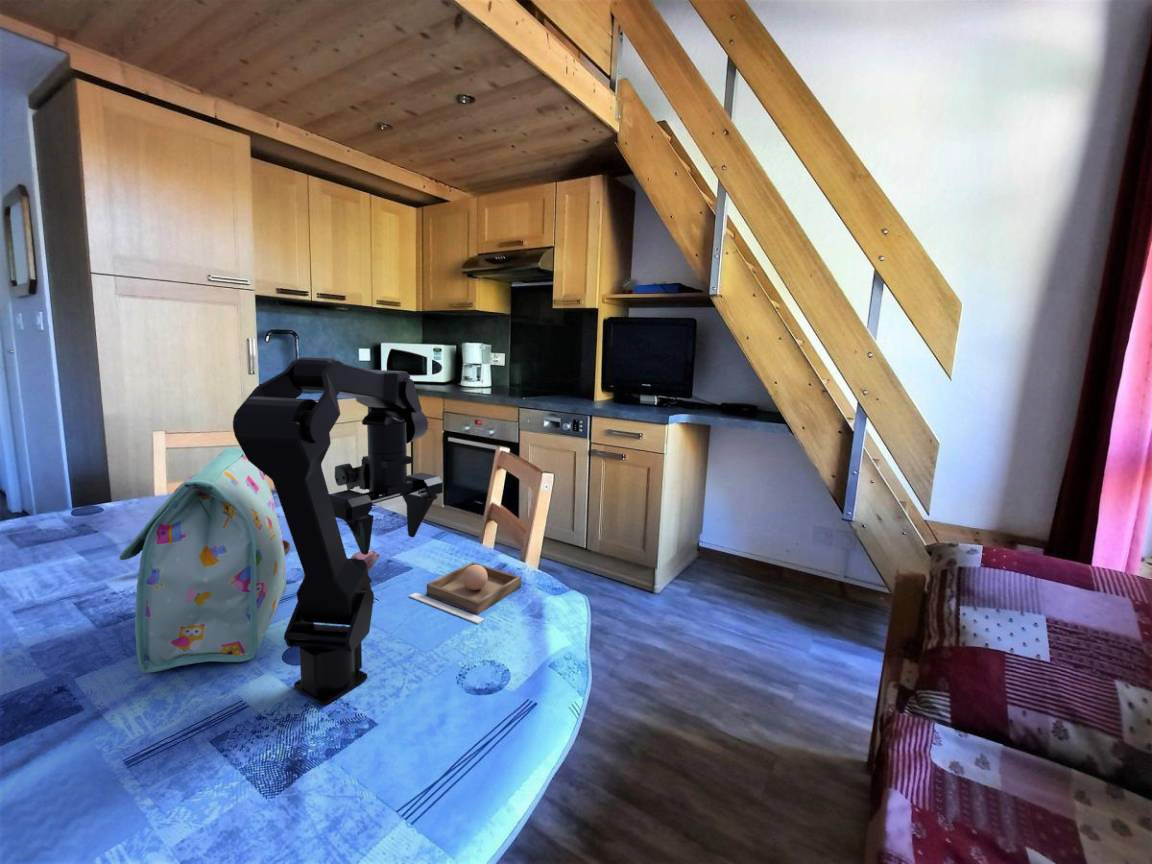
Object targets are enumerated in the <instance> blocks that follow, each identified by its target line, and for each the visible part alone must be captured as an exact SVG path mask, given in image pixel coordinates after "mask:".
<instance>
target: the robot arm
mask: <svg viewBox="0 0 1152 864" xmlns="http://www.w3.org/2000/svg"><path fill="white" fill-rule="evenodd" d="M304 392H314V393H316V392H317V393H318V392H319V393H320V392H321V393H322V394H321V396H320V397H319V399H318V400H317V401H316V400H314V399H313V398H298V397H300V396H301V395H302V394H303V393H304ZM339 395H342V396H346V397H354V398H355V402H357V403H358V404H361V405H363V406H365V407H367V408H368V409H369V411H368V413H367V414H366V415H365V416H364V417H363V418H362V420H361V424H362V426H367V427H366V428H367V429H366V430H367V432H366V433H367V455H365V456H362V458H361V466H360V465H359V466H356V467H353V466H352V464H351V463H344V464H340V465H336V466H334V481H335V483H336V485H337V486H339V487H341V486H344V485H345V486H346V490H342V491H338V492H334V493H330V492H329V489H328V485H327V481H326V479H325V474H324V472H323V467H322V463H323V461H324V459H325V457H326V454H327V453H328V451H329V448H330V446H331V431H332V429H333V427H334V426H335V424H336V423H337V421H338V420H339V418H340V417H341V410H340V405H339V400H338V396H339ZM428 429H429V421H428V419H427V417H426V414H425V413H424V412H423V411H422V405H421V402H420V399H419V394H418V393H417V389H416V385H415V383H414V381H413V378H411V376H410V374H409V373H408V372H407V371H404V370H385V369H382V370H381V369H380V370H379V369H366V368H361V367H360V366H359V367H358V366H354V365H351V364H348V363H344V362H341V360H336V358H333V357H313V356H312V357H309V356H301V357H299V358H295V359H294V360H292V361H291V363H289V365H288V366H287V367H286V368H285V370H284V371H282V372H280V373H279V374H277V375H274V376H273V377H271V378H270V379H268V380H266V381H264V382H263V383H261V384H258V385H257V386H256V387H255V388H254V389H253V390H252V392H251V393H250V394H249V395H248V396H247V398H246V399H245V400H244V401H243V402H242V404H241V405H240V406H239V407H238V409H237V410H236V411H235V413H234V415H233V420H232V430H233V434H234V437H235V439H236V441H237V444H238V445H239V447H240V449H241V450H243V452H244V454H245V456H246V457H247V459H248V461H249V462H251V463H252V464H253V465H254V466H256V467H257V468H258V469H259V470H260V471H261V472H262V474H263V475H264V476H266V477H268V478H269V479H271V481H272V482H273V486H274V489H275V491H276V492H275V493H276V494H277V497H278V500H279V503H280V506H281V510H282V513H283V515H284V519H285V520H286V523H287V527H288V529H289V532H290V533H289V534H290V535H291V538H292V542H293V545H294V548H295V549H296V553H297V556H298V558H299V559H298V560H299V562H300V566H301V568H302V570H303V574H304V576H303V579H302V581H301V582H300V584H299V587H298V589H297V592H296V599H297V602H296V605H295V607H294V609H293V612H292V615H291V616H290V620H289V622H288V624H287V626H286V629H285V631H284V633H283V638H284V642H285V644H286V646H287V648H293V647H295V648H299V650H298V651H299V662H300V663H299V666H300V679H299V680H297V681H295V682H294V683H293V688H294V689H295V690H297V691H299V692H300V693H302V694H303V695H305V696H306V697H308V698H309V699H312V700H313V701H314V702H316V703H317V704H319V705H320V706H326V705H327V704H330V703H331V702H334V700H336V699H338V698H339V697H341V696H342V695H344V694H346V693H348V692H349V691H350V690H353V689H354V688H356V686H358V685H360V684H362V683H363V682H365V681H366V680H367V679H368V673H366V672H364V671H362V670H361V669H362V668H363V660H362V658H363V654H362V653H363V652H362V651H363V650H362V642H363V641H364V639H365V638H366V637H367V636H368V635H369V634H370V631H371V630H370V629H371V623H372V615H373V607H374V599H375V598H374V597H375V595H374V590H372V586H371V584H372V579H371V577H370V575H369V571H368V569H367V564H366V563H365V561H364V560H363V559H350V558H348V556H347V554H346V549H345V546H344V543H343V539H342V536H341V532H340V528H339V524H338V521H337V519H340V520H343V521H344V522H345V523H346V525H347V526H348V528H349V529H350V531H351V533H352V535H353V537H354V538H353V539H355V542H356V544H357V546H358V549H359V550H360V551H361V553H362V554H364V555H367V554H368V552H369V550H370V548H371V541H372V539H371V538H372V532H373V531H372V530H373V524H374V515H373V514H370V513H371V511H372V509H373V505H374V504H377V503H381V502H384V501H388V500H392V499H395V498H399V497H402V498H403V500H404V502H405V505H406V523H407V524H406V525H407V526H406V527H407V528H406V529H407V534H408V537H409V538H415V536H416V534H417V532H418V531H419V529H420V526H421V524H422V522H423V520H424V518H425V516H426V514H427V513H428V511H429V509H430V507H431V506H432V504H433V502H434V501H435V500H437V499H438V495H440V494H442V493H443V492H444V490H443V489H444V487H443V485H444V483H443V481H442V479H441V477H440V476H439V475H435V474H429V473H426V472H417V473H413V474H409V475H408V465H410V464H413V456H410V455H408V454H407V445H408V443H409V444H410V443H411V442H415V441H416V440H419V439H420V438H421V439H422V437H423V436H425V434H426V433H427V430H428ZM357 487H359V490H363V491H365V490H368V491H367V492H359V491H356V490H353V489H355V488H357ZM360 551H359V552H360Z"/></svg>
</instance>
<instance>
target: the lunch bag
mask: <svg viewBox="0 0 1152 864" xmlns="http://www.w3.org/2000/svg"><path fill="white" fill-rule="evenodd" d="M276 510H277V509H276V505H275V501H274V497H273V493H272V490H271V488H270V484H269V482H268V481H267V479H266V476H265V474H264V473H263V472H262V471H260V470H259V469H258V468H257V467H256V466H254V465H253V464H252V463H251V462H249V461H248V459H247V457H246V456H245V454H244V452H243V450H242V448H237V447H233V446H230V447H226V448H225V449H224V450H223V451H222V452H221V453H219V454H218V455H217V456H216V457H215V458H213V459H212V460H211V461H209V462H208V463H207V464H206V465H205V466H203V467H202V468H201V469H200V470H198V471H197V472H196V473H195V474H193V475H191V476H190V477H188V478H187V479H186V480H184V481H183V482H182V483H181V484H180V485H178V487H176V489H175V490H174V491H173V492H172V493H171V495H170V496H169V497H168V498H167V499H166V500H165V501H164V502H163V503H162V505H160V507H159V508H158V509H157V510H156V511H155V513H154V514H153V516H151V518H150V519H149V521H148V522H147V523H146V525H145V526H144V527H143V528H142V529H141V530H140V532H139V533H138V534H137V535H136V536H135V538H134V539H132V541H131V542H130V543H129V544H128V545H127V546H126V547H125V549H123V551H122V552H121V553H120V554H119V557H118V558H119V560H121V561H126V560H129V559H132V558H134V557H136V556H138V555H139V554H140V553H141V554H140V559H139V560H140V561H139V568H138V574H137V583H136V591H135V592H136V594H135V595H136V596H135V599H136V600H135V615H134V616H135V618H134V630H135V631H134V633H135V647H136V648H135V650H136V651H135V653H136V658H137V664H138V667H140V669H141V672H142V673H156V672H161V671H165V670H169V669H172V668H177V667H181V666H187V665H192V664H199V663H205V662H221V663H222V662H223V663H240V662H246V661H250V660H252V659H254V658H255V656H256V655H257V652H258V651H259V649H260V646H261V644H262V642H263V639H264V637H265V635H266V633H267V630H268V629H269V626H270V624H271V623H272V620H273V618H274V615H275V613H276V612H277V609H278V607H279V603H280V601H281V599H282V597H283V595H284V593H285V592H286V590H287V564H286V563H287V562H286V557H285V556H286V555H285V553H284V550H285V548H284V547H283V540H284V539H283V535H282V532H281V527H280V521H279V518H278V513H277V511H276Z"/></svg>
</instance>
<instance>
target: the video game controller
mask: <svg viewBox="0 0 1152 864" xmlns="http://www.w3.org/2000/svg"><path fill="white" fill-rule="evenodd" d="M379 558H380V553H378V552H376V551H374V550H373V549H371V550H370V549H369V552H368V554H367V555H364V554H362V553H361V551H357V552H356V553H354V554H353V555H352V556H351V557H350V558H349V559H363V560H364V561H365V563H366V564H367V569H368V572H369V571H370V570H371V568H372V567H373V566H374V565H376V563H377V562H378V560H379Z"/></svg>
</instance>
